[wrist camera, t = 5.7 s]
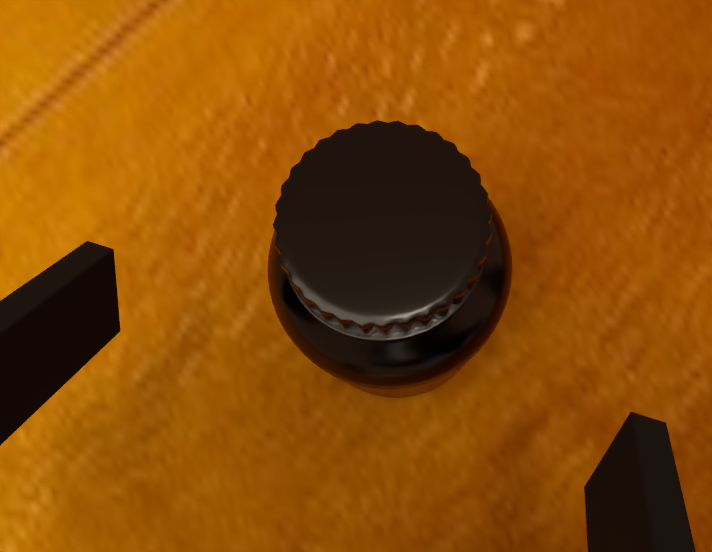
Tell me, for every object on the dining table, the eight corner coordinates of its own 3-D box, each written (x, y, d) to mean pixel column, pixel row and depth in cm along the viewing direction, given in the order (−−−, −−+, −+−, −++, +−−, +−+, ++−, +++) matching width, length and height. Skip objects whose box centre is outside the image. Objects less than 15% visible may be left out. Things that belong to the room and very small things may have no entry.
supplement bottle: (503, 270, 24) (595, 139, 12) (440, 426, 23) (476, 443, 11) (352, 211, 25) (307, 39, 13) (285, 355, 24) (171, 305, 12)
